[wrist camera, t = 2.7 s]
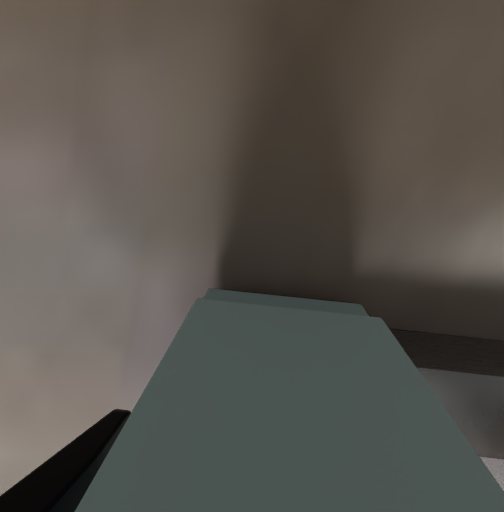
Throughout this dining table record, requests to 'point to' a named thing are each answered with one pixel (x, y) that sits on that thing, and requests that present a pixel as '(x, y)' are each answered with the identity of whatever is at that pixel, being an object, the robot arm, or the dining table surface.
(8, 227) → the dining table surface
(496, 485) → the grey block
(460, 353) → the rail
